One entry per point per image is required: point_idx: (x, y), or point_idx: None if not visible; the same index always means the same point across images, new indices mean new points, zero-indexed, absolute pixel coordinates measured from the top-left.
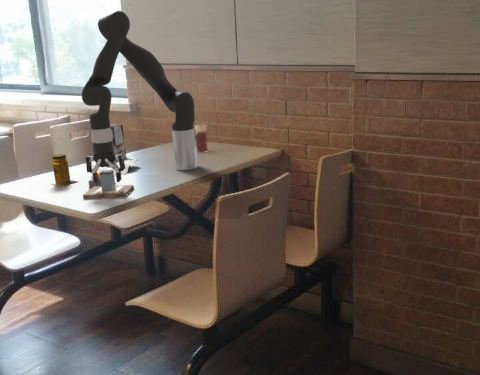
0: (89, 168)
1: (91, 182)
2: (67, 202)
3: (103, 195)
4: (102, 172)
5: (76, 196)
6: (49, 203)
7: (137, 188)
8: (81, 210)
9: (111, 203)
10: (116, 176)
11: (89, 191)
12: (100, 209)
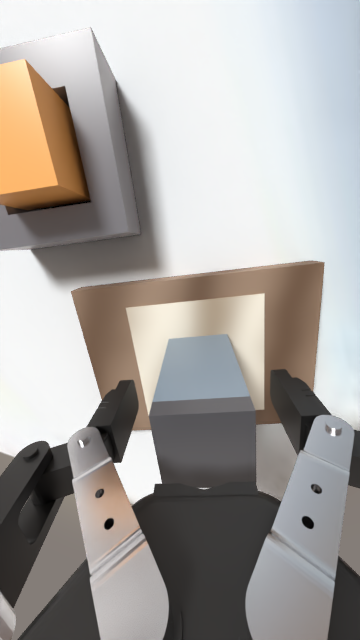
0: (51, 522)
1: (19, 248)
2: None
3: None
4: (185, 481)
5: (61, 384)
6: None
7: (333, 253)
8: None
9: (264, 469)
10: (288, 431)
11: (107, 382)
12: None
